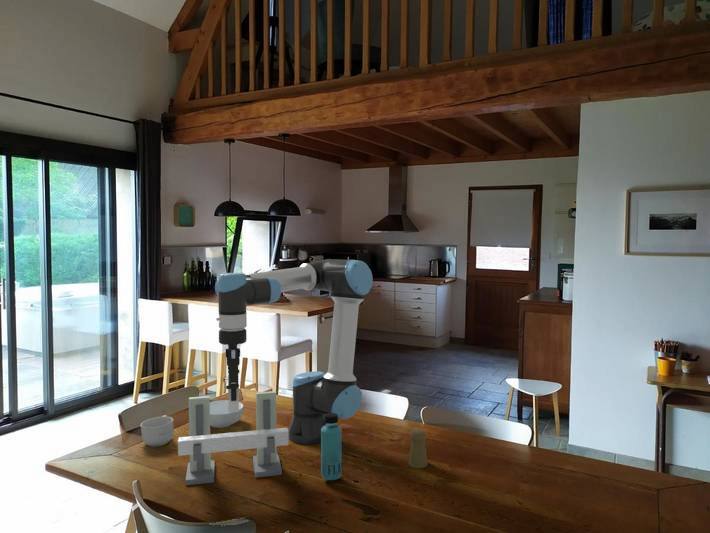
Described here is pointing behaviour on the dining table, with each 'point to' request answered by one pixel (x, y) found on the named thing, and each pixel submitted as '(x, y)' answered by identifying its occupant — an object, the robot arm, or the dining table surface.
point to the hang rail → (232, 441)
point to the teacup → (157, 431)
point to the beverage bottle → (331, 448)
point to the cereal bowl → (223, 414)
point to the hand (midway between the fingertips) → (233, 403)
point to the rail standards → (199, 424)
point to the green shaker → (418, 449)
